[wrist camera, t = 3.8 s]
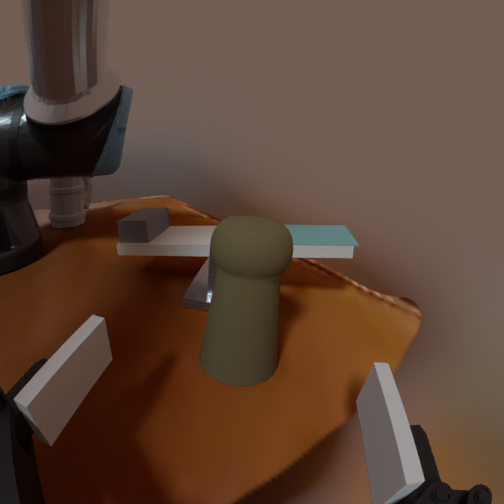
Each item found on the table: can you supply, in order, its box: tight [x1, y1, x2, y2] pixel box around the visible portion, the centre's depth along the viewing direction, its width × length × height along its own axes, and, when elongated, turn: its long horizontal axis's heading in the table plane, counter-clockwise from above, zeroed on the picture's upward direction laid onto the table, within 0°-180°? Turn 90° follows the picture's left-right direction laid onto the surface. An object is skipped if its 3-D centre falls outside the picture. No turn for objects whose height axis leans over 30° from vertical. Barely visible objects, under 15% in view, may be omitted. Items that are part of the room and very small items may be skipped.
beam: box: [116, 208, 359, 258], centre depth 31 cm, size 24×7×4 cm, turn 84°
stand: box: [182, 216, 232, 311], centre depth 32 cm, size 7×12×7 cm, turn 174°
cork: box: [200, 215, 293, 386], centre depth 20 cm, size 6×6×11 cm
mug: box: [49, 177, 92, 228], centre depth 48 cm, size 8×12×12 cm, turn 173°
